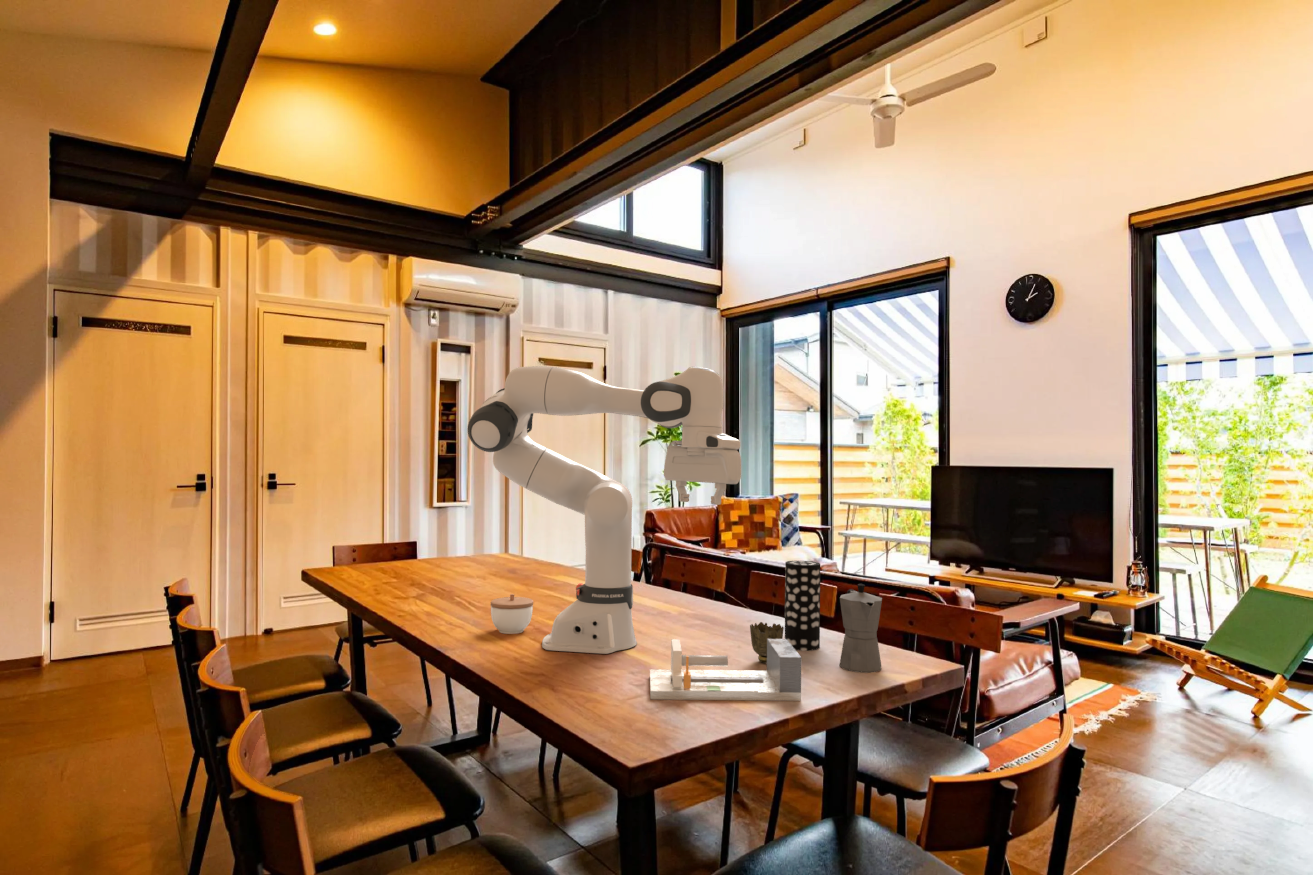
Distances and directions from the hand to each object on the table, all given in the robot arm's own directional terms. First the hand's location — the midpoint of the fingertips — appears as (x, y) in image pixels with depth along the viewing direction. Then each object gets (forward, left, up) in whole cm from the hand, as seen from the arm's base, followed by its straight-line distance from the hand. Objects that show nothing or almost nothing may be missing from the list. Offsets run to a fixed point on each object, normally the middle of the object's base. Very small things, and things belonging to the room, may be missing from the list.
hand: (699, 503), depth 161 cm
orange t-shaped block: (-4, -23, -33) cm, 41 cm away
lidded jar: (-46, +28, -35) cm, 64 cm away
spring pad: (-1, -19, -33) cm, 38 cm away
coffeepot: (+35, 0, -35) cm, 50 cm away
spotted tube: (+26, +16, -35) cm, 47 cm away
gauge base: (+3, -17, -35) cm, 39 cm away
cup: (+15, +2, -35) cm, 38 cm away
